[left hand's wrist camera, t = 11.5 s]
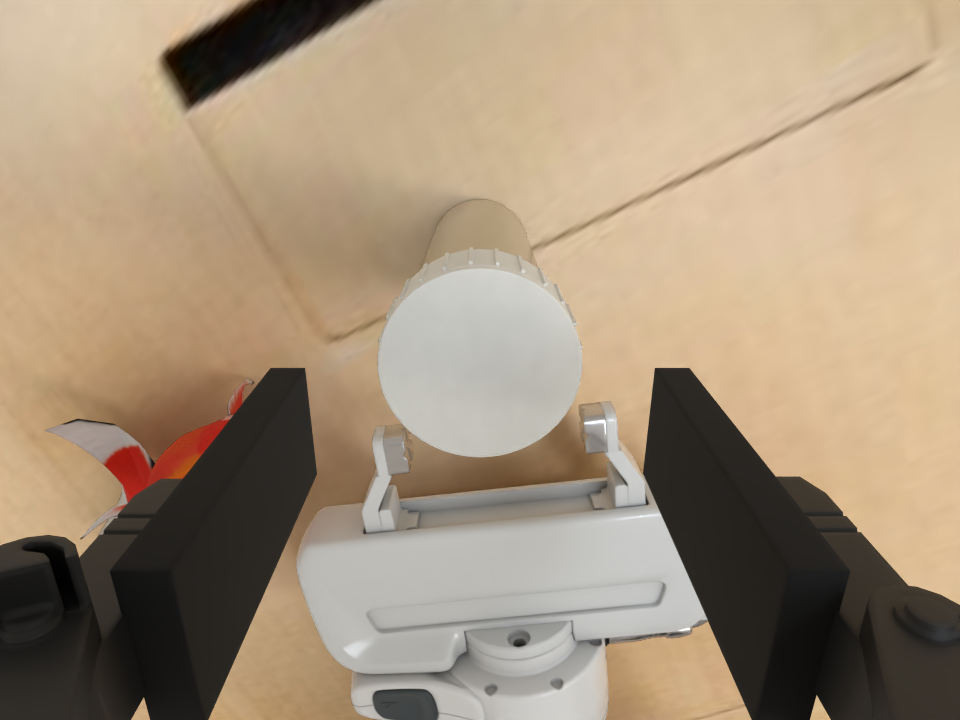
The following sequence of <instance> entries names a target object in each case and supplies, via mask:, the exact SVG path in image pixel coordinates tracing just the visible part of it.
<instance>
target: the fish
mask: <svg viewBox="0 0 960 720" xmlns="http://www.w3.org/2000/svg"><path fill="white" fill-rule="evenodd" d="M253 383H254V382H253V381H251V380H249V379H246V380H245V381H244V382H243V383H242V384H241V385H240V386H239V387H238V388H237V389H236V390H235V392H234V394H233V395H232V397H231V399H230V400H229V403H228V414H229V415H228V416H226V417H225V418H224V419H223V420H219V421H217V422H214V423H212V424H210V425H207V426H203V427H201V428H199V429H196V430H194V431H192V432H189V433H187V434H185V435H183V436H182V437H180V438H179V439H178V440H176V441H175V442H174V443H173V444H172V445H171V446H170V447H169V448H168V449H167V450H166V451H165V452H164V453H163V454H162V455H161V456H160V458H159V459H158V460H157V462H156V463H154V461H153V460H152V459H151V458H150V456H149V455H148V454H147V452H146V451H145V450H144V448H143V447H142V446H141V444H140V443H139V442H137V441H136V440H135V439H134V438H132V437H131V436H130V435H129V434H128V433H126V432H125V431H123V430H122V429H121V428H119V427H118V426H116V425H115V424H111V423H104V422H97V421H90V420H83V419H76V420H73V421H70V422H67V423H64V424H61V425H58V426H56V427H53V428H50V429H47V430H44V431H47V432H50V433H54V434H56V435H58V436H60V437H63V438H65V439H67V440H68V441H70V442H72V443H74V444H76V445H77V446H79V447H81V448H82V449H84V450H85V451H87V452H88V453H90V454H91V455H92V456H94V457H95V458H96V459H98V460H99V461H100V462H101V463H102V464H103V465H105V466H106V467H107V468H108V469H109V470H110V471H111V472H112V473H113V474H114V475H115V477H116V478H117V479H118V480H119V481H120V482H121V485H122V494H121V496H120V499H119V502H118V504H117V506H115V507H112V508H111V509H110V510H108V511H107V512H106V513H105V514H104V515H102V516H101V517H100V518H99V519H97V520H96V522H95V523H94V524H93V525H92V526H91V527H90V528H89V529H88V531H87V532H86V533H85V534H84V535H83V536H82V537H81V539H82V538H84V537H85V536H86V535H87V534H88V533H89V532H91V531H92V530H93V529H94V528H96V527H97V526H98V525H100V524H101V523H102V522H104V521H105V520H107V519H108V520H107V522H106V524H105V525H104V527H103V528H102V530H101V531H100V533H99V535H103V533H104V529H105V528H106V527H107V526H108V525H109V524H110V523H111V521H112V520H113V519H114V518H117V517H118V513H119V512H120V511H121V510H122V509H123V508H124V507H125V506H126V504H127V503H128V502H129V501H130V500H131V499H132V498H133V497H134V495H136V494H137V493H139V492H141V491H142V490H144V489H145V488H147V487H148V486H150V485H152V484H153V483H155V482H156V481H158V480H160V479H183V478H184V477H185V475H186V474H187V473H188V472H189V470H190V469H191V468H192V467H193V465H194V464H195V463H196V461H197V460H198V459H199V458H200V456H201V455H202V454H203V453H204V451H205V450H206V449H207V448H208V446H209V445H210V444H211V443H212V441H213V440H214V439H215V438H216V436H217V435H218V434H219V433H220V431H221V430H222V429H223V428H224V426H225V425H226V424H227V422H228V421H229V420H230V419H231V417H232V416H233V415H234V414H235V412H236V411H237V410H238V409H239V407H240V406H241V405H242V404H243V390H244V386H245V385H247V384H253ZM99 535H98V536H99Z"/></svg>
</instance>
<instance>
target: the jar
mask: <svg viewBox="0 0 960 720" xmlns="http://www.w3.org/2000/svg"><path fill="white" fill-rule="evenodd" d="M470 247H473V249H488V250H494V248H497V249H498V251H501V252H505V253H509V254H512V255H515V256H518V255H520V256H522V259H523V260H525V261H527V262H529V263H530V264H532V265H533V266H535V267H536V268H538V266H537V263H536V260H535V257H534V255H533V252H532V249H531V246H530V243H529V241H528V238H527V235H526V232H525V229H524V227H523V225H522V223H521V222H520V220H519V219H518V217H517V216H516V215H515V214H514V213H513V212H512V211H511V210H510V209H508V208H507V207H505V206H504V205H502V204H500V203H497V202H494V201H490V200H484V199H476V200H470V201H466V202H463V203H460V204H458V205H456V206H455V207H453V208H452V209H450V210H449V211H448V212H447V213H446V214H445V215H444V216H443V217H442V219H441V220H440V222H439V223H438V225H437V227H436V230H435V232H434V235H433V238H432V241H431V243H430V246H429V249H428V252H427V255H426V257H425V260H424V263H423V265H424V264H425V263H427V264H429V263H431V262H433V261H435V260H437V259H439V258H441V257H443V256H445V253H447V252H449V254H451V253H454V252H459V251H464V250H469V248H470ZM422 268H423V266H422Z"/></svg>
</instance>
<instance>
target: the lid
mask: <svg viewBox="0 0 960 720" xmlns="http://www.w3.org/2000/svg"><path fill="white" fill-rule="evenodd" d="M565 304H566V303H565V301H564V298H563V296H562V294H561V291H560V289H559V287H558V285H557V284H555V285H554V284H553V283H552V282H551V281H550V280H549V278H548V277H547V276H546V275H545V274H544V273H543V270H542V268H540V267H539V268H536V267H535V266H533V265H532V264H530V263H529V262H527V261H525V260H523V259H522V256H520V255H518V256H515V255H512V254H509V253H505V252H501V251H498V249H497V248H494V250H488V249H473V247H470V248H469V250H464V251H459V252H454V253H451V254H449V252H447V253H445V256H443V257H441V258H439V259H437V260H435V261H433V262H431V263H429V264H427V263H425V264H424V265H423V268H422V269H421V270H420V271H419V272H418V273H416V274H415V275H414V276H413V277H412V278H411V279H409V278H408V279H407V280H406V282H405V285H404V287H403V289H402V292H401V293H400V295H399V296H398V299H397V298H394V300H393V303H392V305H391V307H390V309H389V312H388V314H387V316H386V319H387V321H386V323H385V326H384V328H383V330H382V333H381V335H380V337H379V341H378V342H380V344H379V351H378V374H379V381H380V385H381V388H382V391H383V394H384V396H385V399H386V401H387V403H388V405H389V407H390V408H391V410H392V412H393V413H394V415H395V416H396V417H397V418H398V420H399V421H400V422H401V423H402V425H404V426H405V427H406V428H407V429H408V430H409V431H410V432H411V433H412V434H413V435H415V436H416V437H418V438H419V439H420V440H422V441H423V442H425V443H427V444H429V445H431V446H432V447H435V448H437V449H440V450H442V451H445V452H448V453H452V454H455V455H461V456H467V457H494V456H499V455H505V454H509V453H512V452H515V451H518V450H521V449H523V448H525V447H527V446H530V445H531V444H533V443H535V442H536V441H538V440H540V439H541V438H542V437H544V436H545V435H546V434H548V433H549V432H550V431H551V430H552V429H553V428H554V427H555V426H556V425H557V424H558V423H559V422H560V421H561V420H562V418H563V417H564V416H565V415H566V413H567V412H568V410H569V408H570V407H571V405H572V403H573V401H574V399H575V396H576V394H577V392H578V388H579V384H580V381H581V374H582V351H581V349H582V344H581V342H580V340H579V337H578V334H577V331H576V328H575V326H577V323H576V321H575V319H574V316H573V314H572V312H571V310H570V307H569V305H568V304H566V305H565Z"/></svg>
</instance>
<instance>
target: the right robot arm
mask: <svg viewBox="0 0 960 720" xmlns="http://www.w3.org/2000/svg"><path fill="white" fill-rule="evenodd" d="M579 415H580V419H581V421H580V433H581V438H582V441H583V442H584V448H585V451H586V454H588V453H600V452H604V453H605V455H606V456H607V457H608V458H609V460H610V462H608V463H607V464H606V469H607V477H603V478H593V479H584V480H574V481H565V482H555V483H546V484H536V485H526V486H517V487H507V488H498V489H488V490H479V491H469V492H460V493H450V494H441V495H431V496H422V497H412V498H403V499H399V496H398V491H397V487H396V485H389V482H390V480H391V477H392V475H395V474H402V473H410V468H411V462H410V461H411V460H412V457H413V448H412V443H411V440H410V439H409V433H410V432H409V430H408V429H407V428H406V427H405V426H404V425H402V424H400V425H389V426H379V427H376V429H375V432H374V435H373V438H372V446H373V454H374V458H375V463H376V470H375V473H374V475H373V477H372V480H371V482H370V485H369V487H368V491H367V494H366V497H365V501H364V503H355V504H346V505H335V506H327V507H323V508H321V509H320V510H319V511H318V512H317V514H316V515H315V516H314V518H313V519H312V521H311V522H310V524H309V526H308V527H307V529H306V531H305V534H304V536H303V538H302V541H301V543H300V546H299V550H298V553H297V559H296V570H297V574H298V579H299V582H300V586H301V589H302V592H303V595H304V598H305V601H306V604H307V606H308V609H309V612H310V614H311V617H312V619H313V621H314V624H315V626H316V628H317V631H318V633H319V635H320V637H321V639H322V641H323V643H324V645H325V647H326V649H327V650H328V652H329V653H330V654H331V656H332V657H333V658H334V659H335V660H336V661H337V662H338V663H340V664H341V665H342V666H344V667H346V668H348V669H350V670H352V682H351V700H352V704H353V707H354V709H355V710H356V712H358V713H359V714H360V715H362V716H364V717H368V718H372V719H378V720H606V717H607V712H608V702H609V690H608V674H607V659H606V648H605V646H607V644H617V643H627V642H636V641H642V640H646V639H651V638H652V637H653V638H657V637H658V638H659V637H666V638H680V637H684V636H687V635H690V634H691V633H692V628H695V627H698V626H700V625H702V624H704V623H706V622H707V621H708V620H707V617H706V615H705V613H704V611H703V608H702V606H701V604H700V602H699V599H698V597H697V595H696V592H695V590H694V588H693V586H692V583H691V581H690V579H689V577H688V574H687V572H686V570H685V568H684V565H683V563H682V561H681V559H680V556H679V554H678V552H677V549H676V547H675V545H674V543H673V540H672V538H671V536H670V534H669V531H668V529H667V527H666V525H665V522H664V520H663V518H662V516H661V513H660V511H659V509H658V506H657V504H656V502H655V500H654V497H653V495H652V493H651V491H650V488H649V486H648V484H647V482H646V479H645V477H644V475H643V473H641V472H640V470H639V468H638V465H637V463H636V461H635V459H634V457H633V456H632V455H631V453H630V452H629V451H628V449H627V448H626V447H625V445H624V444H623V443H622V442H621V440H620V439H619V438H618V425H617V417H616V413H615V410H614V408H613V405H612V403H611V401H608V402H598V403H590V404H581V405H579Z"/></svg>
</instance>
